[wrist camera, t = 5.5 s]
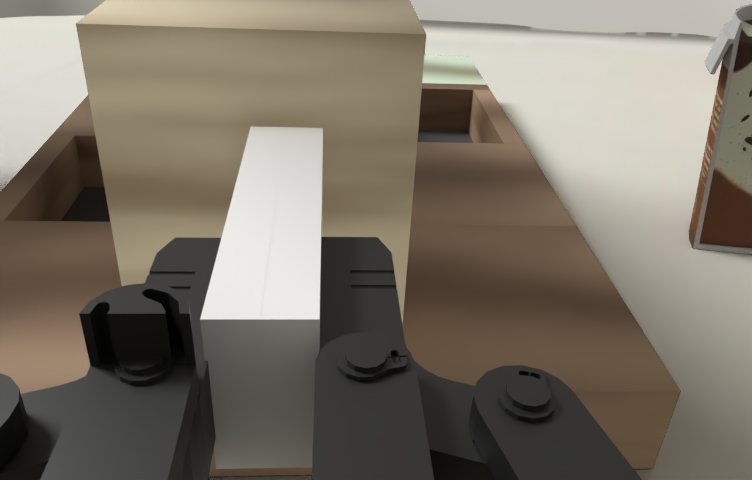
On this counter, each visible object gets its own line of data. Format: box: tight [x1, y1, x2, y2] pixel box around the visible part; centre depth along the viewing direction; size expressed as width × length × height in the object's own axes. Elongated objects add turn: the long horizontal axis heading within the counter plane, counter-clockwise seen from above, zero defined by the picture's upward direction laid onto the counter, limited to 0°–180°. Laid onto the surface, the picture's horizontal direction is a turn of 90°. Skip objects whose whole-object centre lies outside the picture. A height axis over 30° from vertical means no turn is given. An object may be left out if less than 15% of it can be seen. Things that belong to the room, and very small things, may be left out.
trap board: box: [0, 55, 681, 477], centre depth 32 cm, size 32×22×3 cm
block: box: [76, 0, 426, 324], centre depth 20 cm, size 10×7×9 cm
